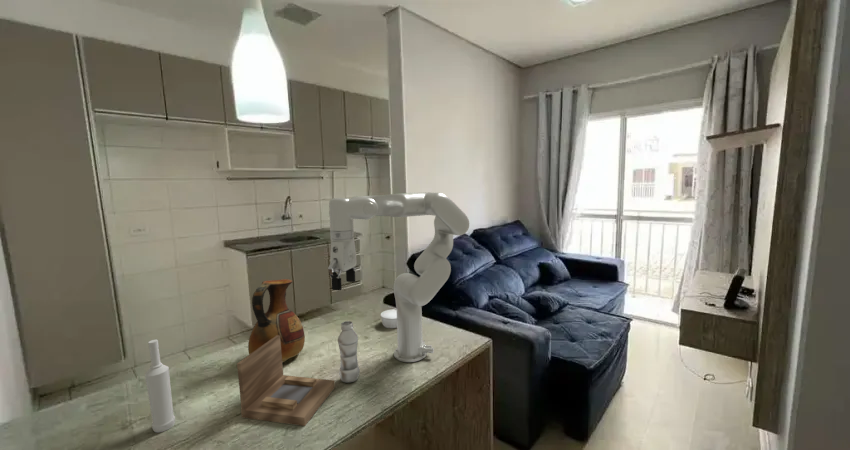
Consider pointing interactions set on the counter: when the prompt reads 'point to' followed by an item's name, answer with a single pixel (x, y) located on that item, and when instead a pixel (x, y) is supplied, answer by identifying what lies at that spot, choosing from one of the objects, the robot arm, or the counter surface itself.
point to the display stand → (278, 388)
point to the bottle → (159, 391)
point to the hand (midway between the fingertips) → (344, 285)
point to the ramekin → (389, 318)
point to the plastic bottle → (348, 353)
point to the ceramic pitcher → (276, 320)
